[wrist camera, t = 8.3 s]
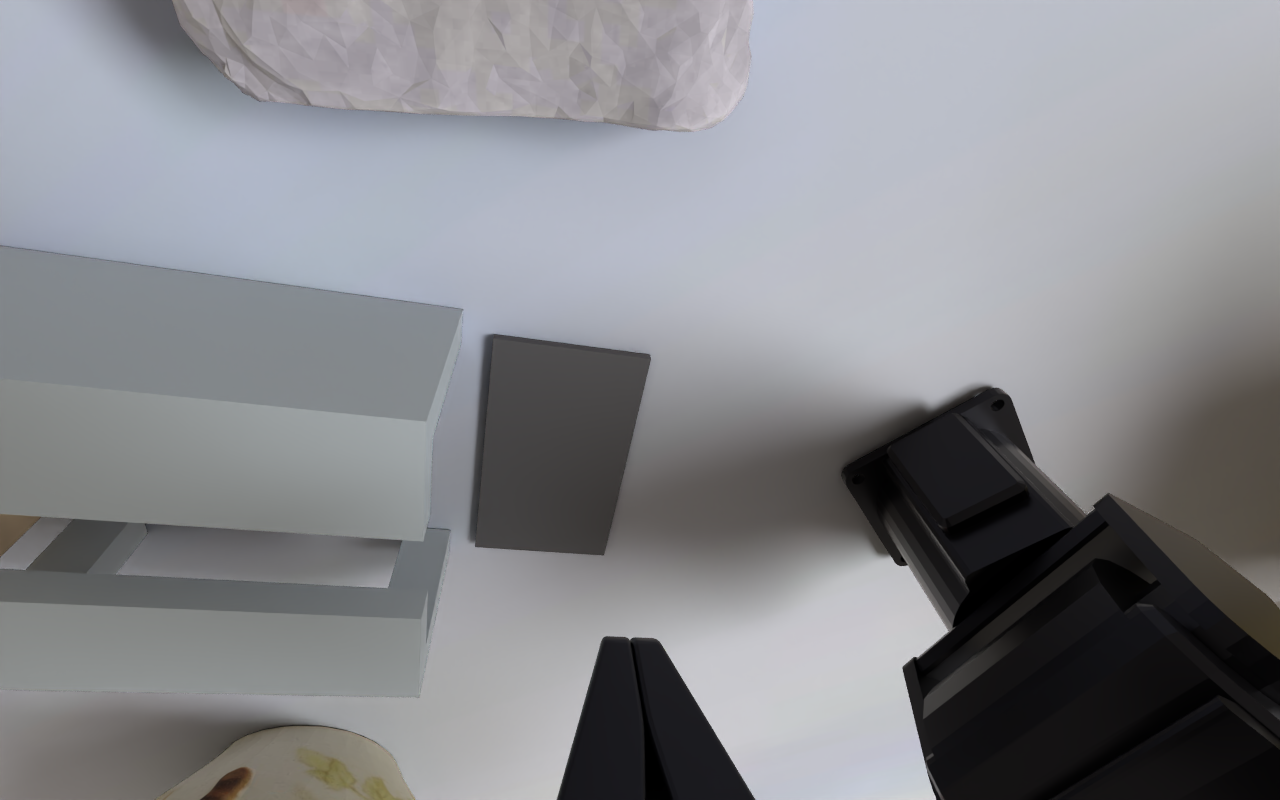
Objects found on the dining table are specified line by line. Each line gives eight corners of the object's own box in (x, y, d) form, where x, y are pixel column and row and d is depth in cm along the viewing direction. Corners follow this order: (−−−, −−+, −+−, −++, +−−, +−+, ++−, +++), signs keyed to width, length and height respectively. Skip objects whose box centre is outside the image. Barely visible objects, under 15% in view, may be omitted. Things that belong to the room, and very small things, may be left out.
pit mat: (649, 354, 20) (650, 359, 20) (603, 549, 25) (603, 555, 25) (494, 334, 19) (493, 338, 19) (476, 541, 24) (475, 547, 24)
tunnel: (462, 309, 19) (426, 422, 14) (449, 552, 24) (419, 697, 19) (-4, 245, 16) (-256, 352, 11) (96, 530, 22) (-45, 688, 17)
